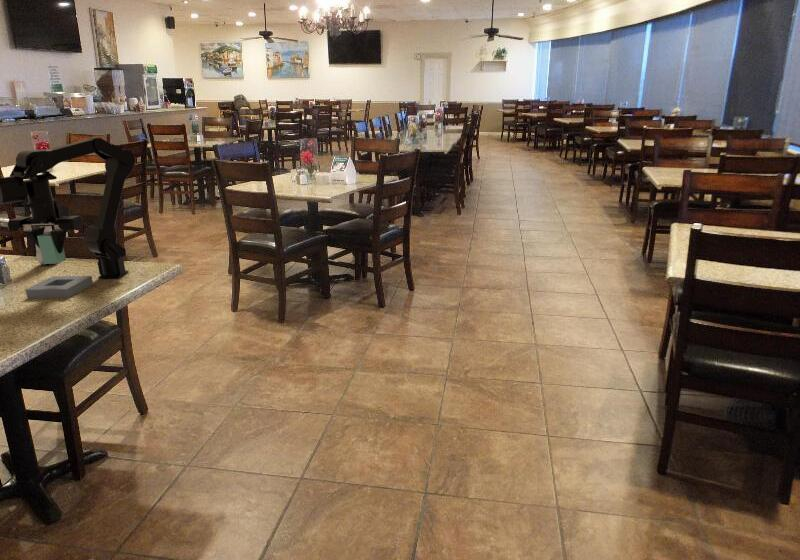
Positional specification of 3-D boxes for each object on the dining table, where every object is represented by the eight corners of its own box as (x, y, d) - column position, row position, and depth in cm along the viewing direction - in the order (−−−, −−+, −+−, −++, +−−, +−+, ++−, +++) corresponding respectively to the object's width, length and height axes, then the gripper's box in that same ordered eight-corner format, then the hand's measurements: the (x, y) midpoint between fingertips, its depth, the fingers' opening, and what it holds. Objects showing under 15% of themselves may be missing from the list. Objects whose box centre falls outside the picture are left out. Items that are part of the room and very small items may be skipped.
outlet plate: (93, 283, 171) (91, 275, 170) (68, 297, 160) (66, 289, 159) (54, 284, 172) (52, 276, 171) (27, 298, 161) (25, 289, 160)
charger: (65, 259, 165) (59, 230, 162) (57, 263, 161) (50, 233, 159) (52, 259, 165) (45, 230, 163) (43, 263, 162) (36, 233, 159)
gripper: (90, 192, 165) (100, 245, 170) (27, 193, 166) (39, 246, 171) (66, 199, 154) (78, 255, 159) (-1, 200, 155) (13, 256, 160)
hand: (53, 253), depth 163 cm, fingers closed on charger, 4 cm apart
